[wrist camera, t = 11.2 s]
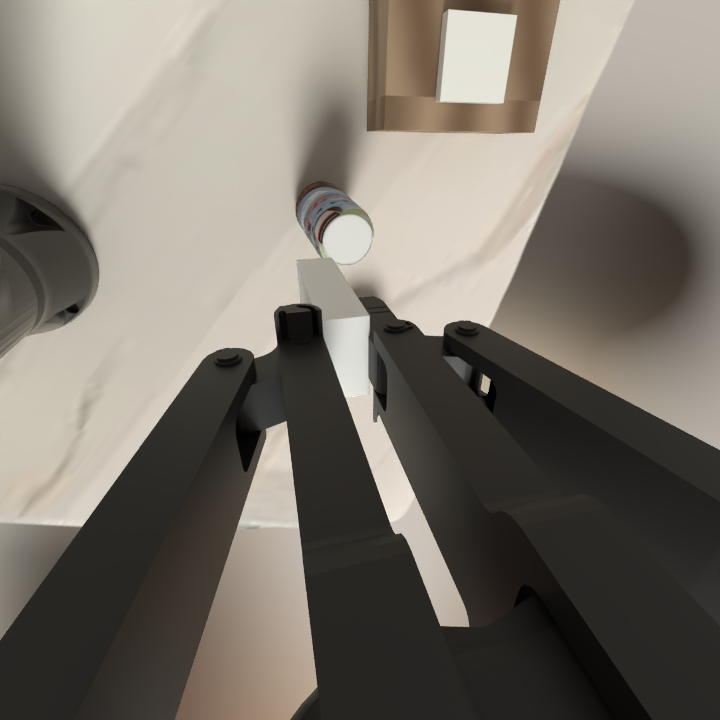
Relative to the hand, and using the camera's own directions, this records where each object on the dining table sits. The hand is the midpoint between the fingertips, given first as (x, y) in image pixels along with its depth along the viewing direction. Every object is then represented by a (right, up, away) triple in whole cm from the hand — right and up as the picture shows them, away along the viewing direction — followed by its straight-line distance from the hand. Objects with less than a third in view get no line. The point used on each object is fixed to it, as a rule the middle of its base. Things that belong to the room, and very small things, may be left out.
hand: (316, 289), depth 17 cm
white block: (+11, +28, +25) cm, 38 cm away
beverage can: (-2, +14, +29) cm, 33 cm away
